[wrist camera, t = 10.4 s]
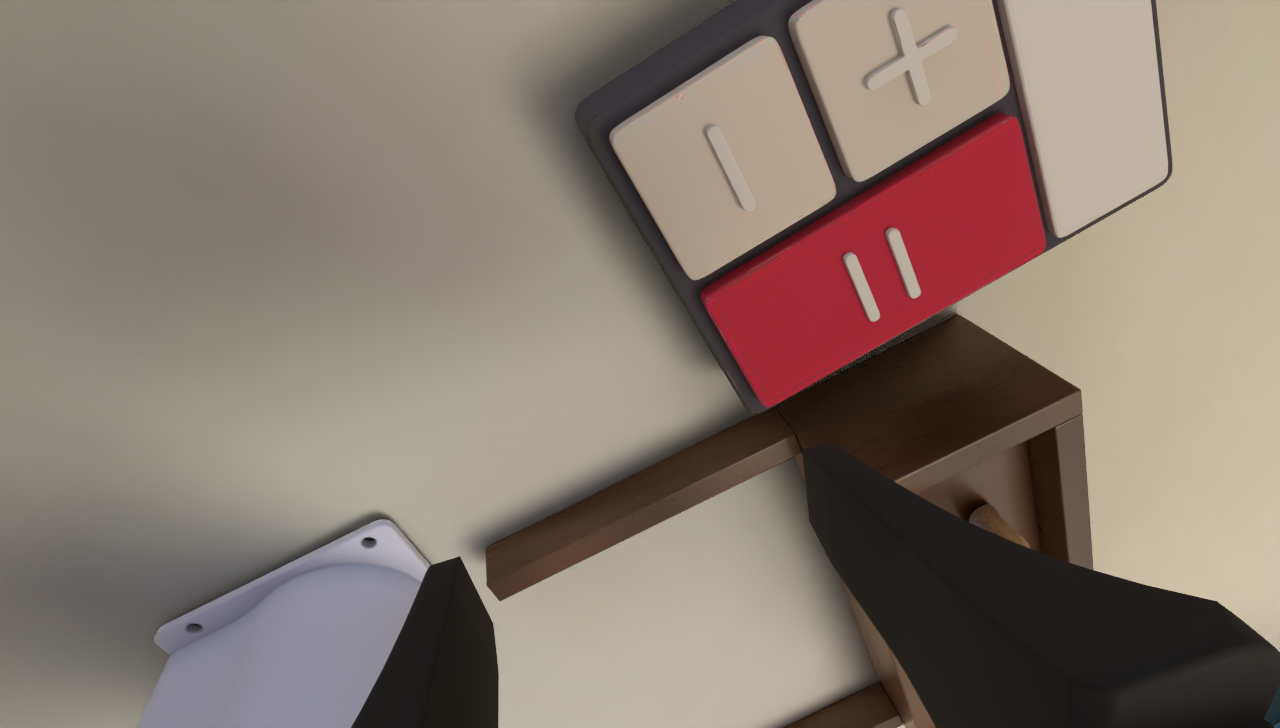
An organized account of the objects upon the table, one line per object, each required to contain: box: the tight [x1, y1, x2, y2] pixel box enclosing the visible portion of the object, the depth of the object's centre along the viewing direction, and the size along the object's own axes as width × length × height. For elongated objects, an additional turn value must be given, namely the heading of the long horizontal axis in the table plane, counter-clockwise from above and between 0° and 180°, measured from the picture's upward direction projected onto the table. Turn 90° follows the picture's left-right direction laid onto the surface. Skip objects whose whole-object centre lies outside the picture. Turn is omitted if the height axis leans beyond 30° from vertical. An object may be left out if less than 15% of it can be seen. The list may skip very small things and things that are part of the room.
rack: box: [486, 315, 1093, 728], centre depth 29 cm, size 20×21×6 cm
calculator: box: [575, 0, 1172, 413], centre depth 20 cm, size 11×4×15 cm
